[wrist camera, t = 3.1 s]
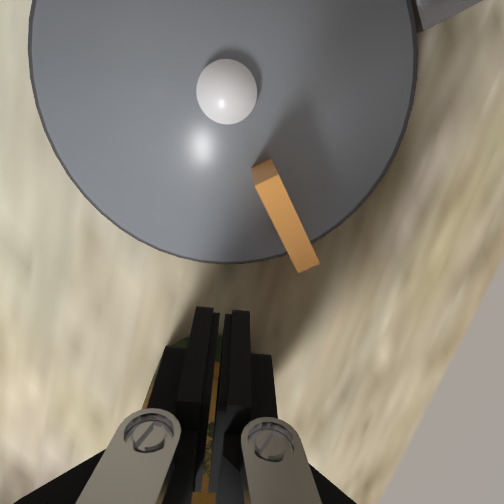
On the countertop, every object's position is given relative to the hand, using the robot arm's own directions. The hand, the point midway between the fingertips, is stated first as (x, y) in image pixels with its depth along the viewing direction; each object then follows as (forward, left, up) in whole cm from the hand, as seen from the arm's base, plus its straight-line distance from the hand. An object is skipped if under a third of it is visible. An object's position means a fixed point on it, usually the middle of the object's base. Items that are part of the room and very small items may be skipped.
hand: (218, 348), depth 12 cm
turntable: (-6, +3, -13) cm, 15 cm away
